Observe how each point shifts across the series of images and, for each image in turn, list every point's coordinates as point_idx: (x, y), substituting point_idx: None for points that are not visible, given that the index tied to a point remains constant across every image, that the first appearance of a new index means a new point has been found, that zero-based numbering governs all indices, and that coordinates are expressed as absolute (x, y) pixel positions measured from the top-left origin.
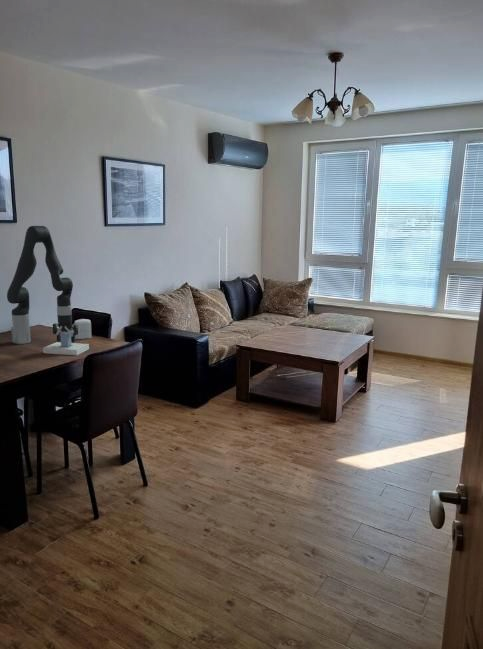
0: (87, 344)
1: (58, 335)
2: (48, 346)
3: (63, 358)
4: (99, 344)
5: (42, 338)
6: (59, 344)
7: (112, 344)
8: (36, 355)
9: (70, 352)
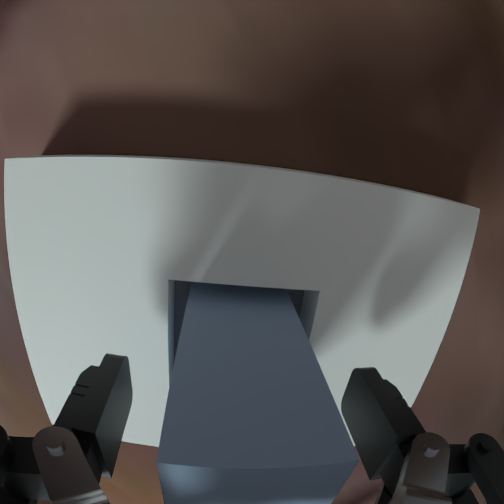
0: (49, 410)
1: (396, 446)
2: (445, 281)
3: (134, 2)
4: None
5: None
6: None
7: None
8: (464, 109)
9: (98, 155)
